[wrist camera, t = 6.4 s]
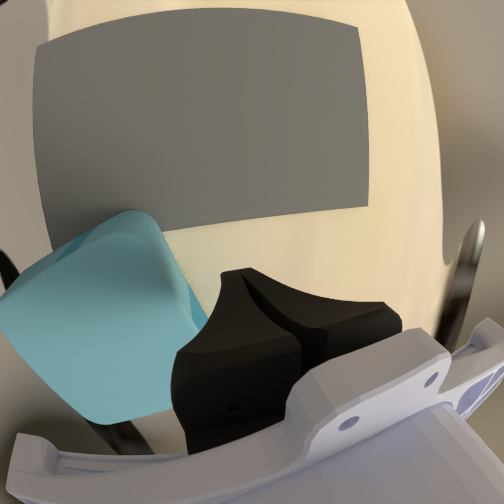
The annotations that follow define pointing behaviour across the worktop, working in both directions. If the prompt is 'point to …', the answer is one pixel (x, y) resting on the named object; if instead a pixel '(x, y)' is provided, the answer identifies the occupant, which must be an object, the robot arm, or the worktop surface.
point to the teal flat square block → (105, 319)
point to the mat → (199, 119)
